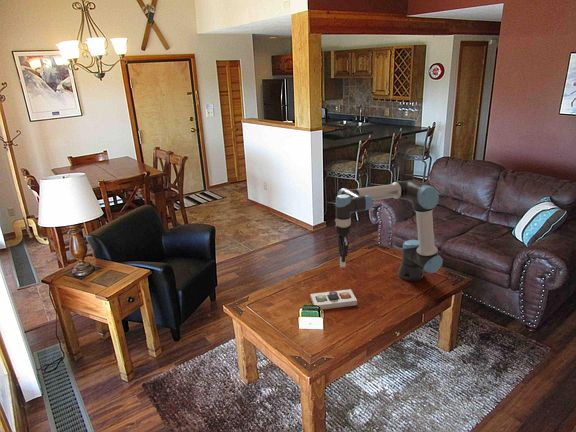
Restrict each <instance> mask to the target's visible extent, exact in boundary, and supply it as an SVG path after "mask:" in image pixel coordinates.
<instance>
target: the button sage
mask: <svg viewBox="0 0 576 432" xmlns="http://www.w3.org/2000/svg"><path fill="white" fill-rule="evenodd" d="M323 301H326V297H325V296H324V295H318V296H317V302H323Z"/></svg>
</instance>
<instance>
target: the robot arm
mask: <svg viewBox="0 0 576 432" xmlns="http://www.w3.org/2000/svg"><path fill="white" fill-rule="evenodd" d="M439 197H440V196H439V192H438V190H437V189H436V188H435V187H432V186H431V185H429V184H424V183H422V182H419V181H418V180H417V181H416V180H414V179H413V180H411V179H410V180H400V181H395V182H392V183H391V184H383V185H376V186H375V185H374V186H369V187H360V188H352V189H349V188H346V187H343V188H341V189H339V190H338V192H337V195H336V197H335V203H334V205H335V219H334V222H335V233H336V235H337V245H338V252H339V267H340V268H346V266H347V265H346V264H347V263H346V259H347V257H348V251H349V245H350V242H349V241H348V240H349V239H348V238H349V237H348V235H349V234H351V231H352V230H351V224H352V221H351V219H352V217H351V216H352V214H353V213H358V212H364V211H368V210H371V209H372V207H373V201H378V200H385V199H392V198H394V199H396V200H398V199H399V200H401V199H402V200H406V201H408V202H410V203H411V205H412V210H413V211H414V212H415V217H416V229H417V239H409V240H405V241H403V244H402V253H401V264H400V266H399V268H398V272H397V275H398V277H399V278H401V279H402V280H405V281H408V282H417V281H420V280H422V279H423V278H424V272H426V273H427V274H433V273H436V272H438V270H439V269H440V268H441V267H442V265H443V258H442V256H441V255H439V253H438V252H439V251H438V247H437V246H436V245H435V234H434V221H433V219H434V218H433V210H434V209H435V208H436V206H437V205H438V202H439V200H440V198H439Z"/></svg>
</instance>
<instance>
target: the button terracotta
mask: <svg viewBox="0 0 576 432" xmlns="http://www.w3.org/2000/svg"><path fill="white" fill-rule="evenodd" d="M347 298H350V294H349V293H348V292H342V293H341V299H347Z"/></svg>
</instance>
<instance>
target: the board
mask: <svg viewBox="0 0 576 432" xmlns="http://www.w3.org/2000/svg"><path fill="white" fill-rule="evenodd" d="M334 291H335V292H337V293H338V299H337V300H330V299H329V292H330V291H325V292H316V293H310V301H311V304H312V305H317V306H319V307H320V308H321V310H328V309H335V308H345V307H352V306H357V305H358V300H357V298H356V295H354V292H353V290H352V289H351V288H349V289H341V290H334ZM342 292H348V293H349V294H350V298H347V299H341V293H342ZM318 295H324V296H325V297H326V301H323V302H317V296H318Z"/></svg>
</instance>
